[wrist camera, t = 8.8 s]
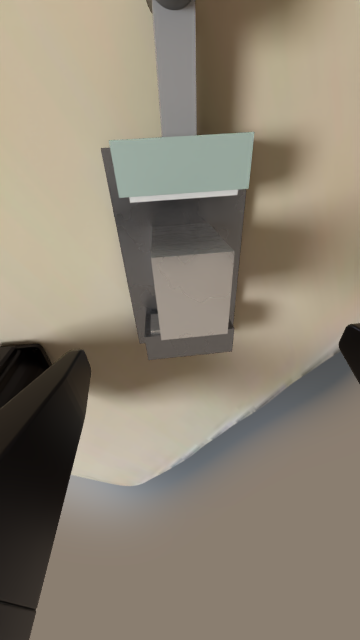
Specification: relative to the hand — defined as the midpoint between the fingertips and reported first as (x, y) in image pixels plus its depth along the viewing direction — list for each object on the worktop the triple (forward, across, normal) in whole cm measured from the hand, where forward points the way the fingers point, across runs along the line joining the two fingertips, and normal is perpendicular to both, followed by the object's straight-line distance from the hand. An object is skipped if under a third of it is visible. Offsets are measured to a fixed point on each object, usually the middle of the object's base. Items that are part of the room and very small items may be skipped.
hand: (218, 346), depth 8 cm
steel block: (+11, 0, +1) cm, 11 cm away
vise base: (+12, 0, +1) cm, 12 cm away
